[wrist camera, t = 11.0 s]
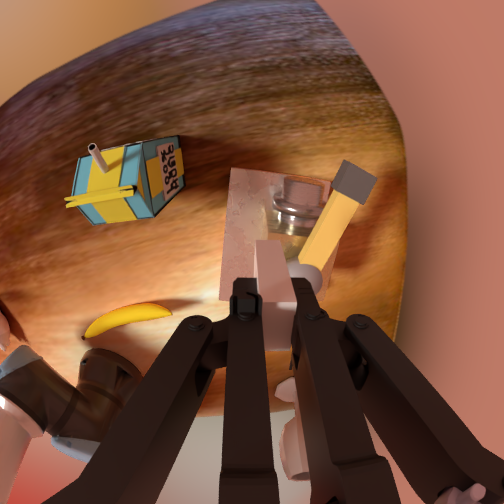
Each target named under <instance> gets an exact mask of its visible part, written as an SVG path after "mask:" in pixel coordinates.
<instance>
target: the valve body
mask: <svg viewBox="0 0 504 504" xmlns="http://www.w3.org/2000/svg"><path fill="white" fill-rule="evenodd" d="M330 185H331V182H330V181H328V180H323V179H317V178H311V177H305V176H298V175H292V174H285V173H278V172H271V171H263V170H255V169H247V168H238V167H231V173H230V183H229V192H228V202H227V212H226V222H225V233H224V244H223V255H222V266H221V279H220V291H219V300H222V301H230V297H231V295H232V289H233V282H234V281H235V280H236V278H237V277H247V278H254V255H255V240H280V242H281V246H282V249H283V253H284V256H285V260H286V261H287V260H289V259H290V258H293V257H296V256H299V254H300V252H301V250H302V249H303V247H304V245H305V243H306V241H307V239H308V238H309V236H310V234H311V232H312V230H313V228H314V226H315V225H316V223H317V221H318V219H319V217H320V215H321V213H322V211H323V209H324V208H325V206H326V204H327V200H328V195H329V190H330ZM339 243H340V241H338V243H337V245H336V246H335V248H334V250H333V251H332V253H331V255H330V257H329V258H328V260H327V262H326V263H325V265H324V267H323V268H322V270H321V275H322V278H323V284H322V287H321V289H320V291H319V292H318V293H317V294H316V295H315V296H316V298H317V301H323V300H324V297H325V293H326V290H327V287H328V283H329V280H330V276H331V273H332V269H333V265H334V262H335V258H336V254H337V251H338V247H339Z"/></svg>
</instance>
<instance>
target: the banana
mask: <svg viewBox="0 0 504 504" xmlns="http://www.w3.org/2000/svg"><path fill="white" fill-rule="evenodd" d="M170 315H172V313H171V312H170V311H169V310H168V309H166V308H164V307H163V306H160V305H157V304H152V303H142V304H134V305H129V306H125V307H121V308H118V309H115V310H113V311H111V312H109V313H107V314H104V315H103V316H101V317H99V318H98V319H96V320H95V321H94V322H93V323H92V324H91V325H90V326H89V328H88V329H87V331H86V333H85V335H84V336H82V340H85V339H86V338H89V337H94V336H97V335H99V334H101V333H103V332H105V331H107V330H109V329H111V328H113V327H116V326H120V325H124V324H128V323H134V322H140V321H146V320H153V319H158V318H162V317H166V316H170Z"/></svg>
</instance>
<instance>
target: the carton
mask: <svg viewBox="0 0 504 504" xmlns="http://www.w3.org/2000/svg"><path fill="white" fill-rule="evenodd" d="M88 150H89V152H90V155H86V156H83V157H79V160H78V164H77V169H76V174H75V179H74V184H73V190H72V196H71V197H67V198H64V199H65V200H66V202H67V203H66V208H68V207H73V206H77V208H78V209H79V210H80V211H81V212H82V213H83V215H84V216H85V217H86V218H87V219H88V220H89V221H90V222H91V224H92V225H99V224H107V223H114V222H122V221H130V220H138V219H146V218H155V217H156V216H157V215H158V213H159V212H160V211H161V210H162V209H163V208H164V207H165V206H166V205H167V204H168V203H169V202H170V201H171V200H172V199H173V198H174V197H175V196H176V195H177V194H178V193H179V192H180V191H181V190H182V189H183V188H184V187H185V186H186V184H185V176H184V168H183V160H182V152H181V145H180V137H179V135H176V136H170V137H164V138H158V139H156V138H155V139H150V140H145V141H140V142H135V143H131V144H126V145H121V146H117V147H113V148H109V149H105V150H101V151H99V149H98V147H97V146H96V144H95V143H92V144H90V145H89V146H88Z"/></svg>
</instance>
